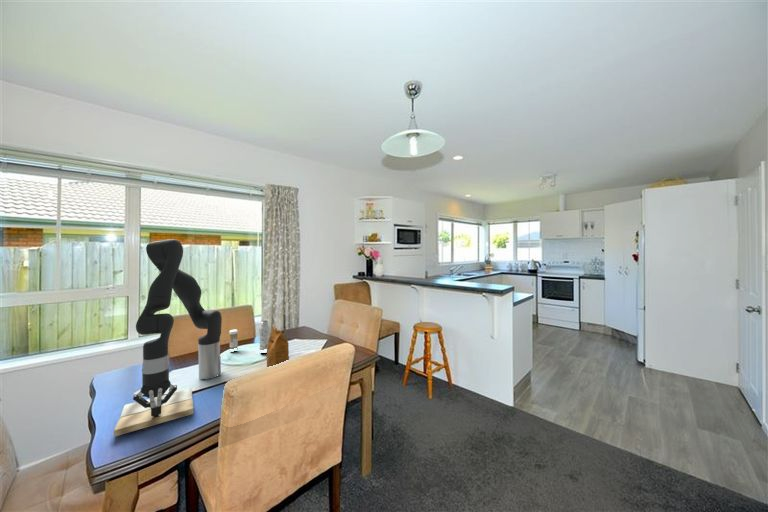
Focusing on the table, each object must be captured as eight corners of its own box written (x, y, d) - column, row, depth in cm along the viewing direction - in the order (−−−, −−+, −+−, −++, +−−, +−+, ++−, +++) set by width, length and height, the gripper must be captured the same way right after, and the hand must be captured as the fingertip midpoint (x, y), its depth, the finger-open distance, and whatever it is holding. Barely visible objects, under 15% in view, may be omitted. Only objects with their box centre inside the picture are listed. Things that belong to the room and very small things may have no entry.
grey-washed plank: (191, 392, 124) (191, 388, 124) (192, 402, 116) (192, 398, 116) (124, 409, 111) (124, 404, 111) (120, 422, 103) (120, 417, 103)
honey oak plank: (192, 403, 115) (192, 398, 116) (193, 413, 106) (193, 408, 106) (120, 423, 102) (120, 417, 102) (113, 436, 93) (113, 430, 93)
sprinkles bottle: (228, 351, 174) (228, 330, 173) (236, 349, 177) (235, 328, 177) (231, 353, 171) (231, 331, 170) (239, 351, 174) (238, 330, 174)
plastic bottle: (273, 352, 173) (272, 320, 172) (265, 356, 166) (264, 323, 166) (264, 351, 175) (264, 319, 174) (256, 354, 169) (256, 322, 168)
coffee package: (282, 362, 157) (281, 324, 156) (291, 370, 147) (290, 329, 147) (264, 367, 150) (263, 327, 150) (271, 375, 141) (271, 332, 140)
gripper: (178, 361, 108) (178, 405, 108) (133, 369, 100) (133, 417, 100) (178, 367, 102) (178, 414, 102) (129, 377, 94) (130, 428, 94)
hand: (156, 416), depth 101 cm, fingers closed
